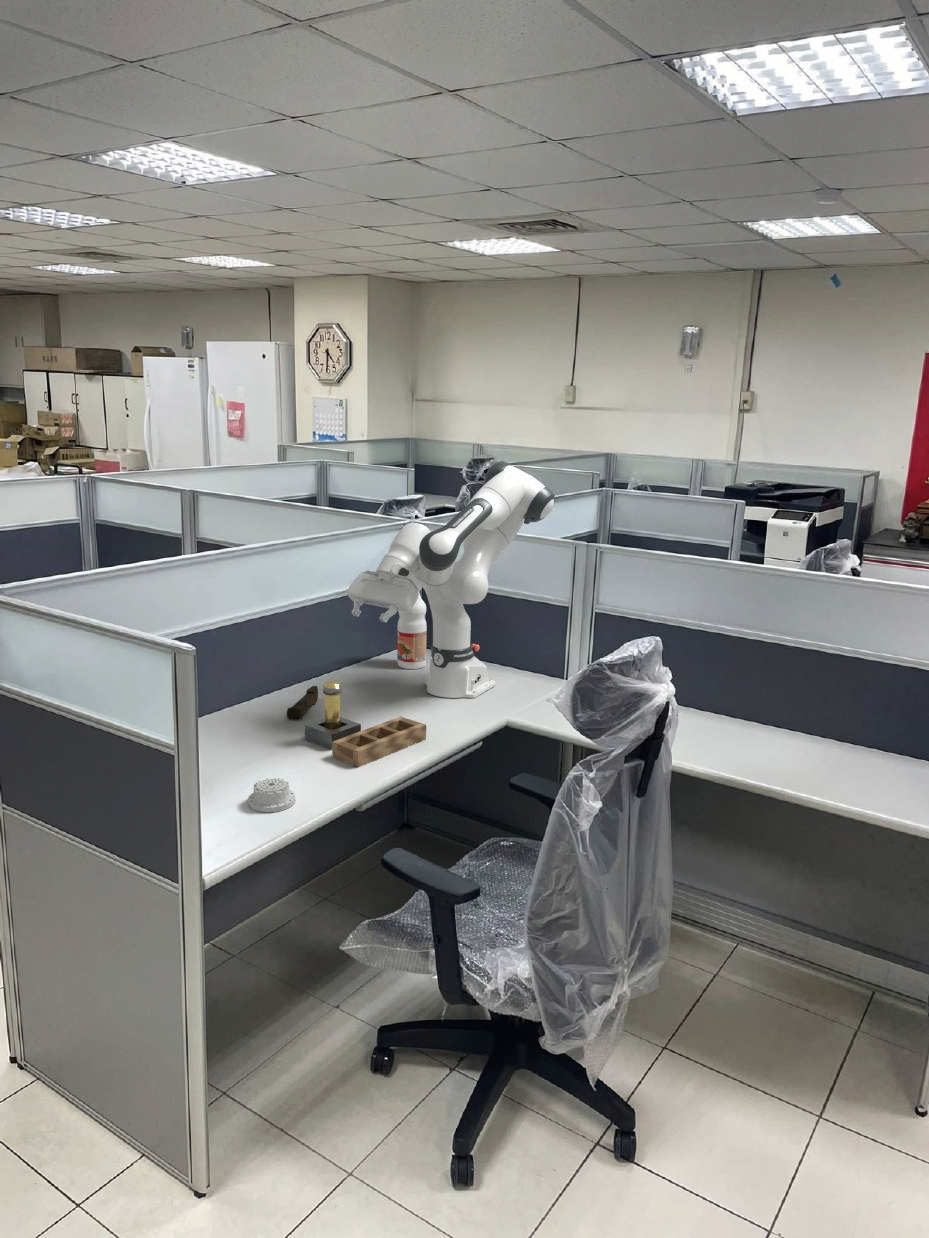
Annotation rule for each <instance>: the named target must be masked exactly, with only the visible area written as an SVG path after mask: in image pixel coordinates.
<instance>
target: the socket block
mask: <svg viewBox="0 0 929 1238" xmlns="http://www.w3.org/2000/svg"><path fill="white" fill-rule="evenodd" d="M360 731H362V724H361V723H358V722H356V721H353V720H349V719H347V718H344V717H343V716H341V727H340V728H337V729H334V730H330V729H327V728H325V717H324V718H321V719H318V720H315V721H312V722H310V723H309V722H308V723H307V724H304V740H305V741H306V742H307V741H308V742H310V743H311V744H315V745H318V746H320V747H323V748H326V749H329V750H331V749H332V742H333V741H336V740H338V739H341V738H344V737H346V736H349V735H352V734H355V733H357V732H360Z"/></svg>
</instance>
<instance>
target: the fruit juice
mask: <svg viewBox="0 0 929 1238" xmlns="http://www.w3.org/2000/svg"><path fill="white" fill-rule="evenodd" d="M418 592H419V595H418V598H417V601H416V603H415V605H414V606H413V608H412V609H411V610H410V611H408V612H404V611H399V610H397V612H398V615H399V618H398V621H397V646H396V647H397V657H396V658H397V661H396V663H397V665H398V667H399V668H401V669H406V670H419V669H423V668H424V667H426V664H427V635H428V634H427V631H428V630H427V627H428V626H427V621H426V613H427V605H426V603H425V601H424V600H423V599H422V597H421V594H420V591H418Z"/></svg>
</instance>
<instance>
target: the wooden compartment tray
mask: <svg viewBox="0 0 929 1238" xmlns="http://www.w3.org/2000/svg"><path fill="white" fill-rule="evenodd" d="M425 739H426V740H427V724H425V723H422V722H419V721H416V720H412V719H410V718H407V717H403V716H397V717H395V718H392V719H389V720H387V721H385V722H381V723H379V724H376V725H374V726H371V727H368V728H366V729H363V730H361V731H360V732H357V733H355V734H352V735H349V736H346V737H344V738H341V739H338V740H336V741H333V742H332V750H331V751H332V753H331V755H332V756H331V757H332V758H333V759H336V760H338V761H341V762H344V763H346V764H349V765H351V766H354V767H357V768H360V767H362V766H365V765H368V764H370V763H373V762H374V760H375V761H378V760H380V759H382V758H384V756H385V757H387V756H389V755H392V754H394V753H396V752H399V751H401V749H402V750H404V749H407V748H409V747H411V746H413V744H414V745H416V744H419V743H420V741H421V742H423V741H425ZM422 740H423V741H422ZM418 742H419V743H418ZM415 743H416V744H415ZM408 746H409V747H408ZM398 750H399V751H398ZM391 753H392V754H391ZM379 758H380V759H379ZM372 761H373V762H372ZM367 763H368V764H367Z"/></svg>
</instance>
